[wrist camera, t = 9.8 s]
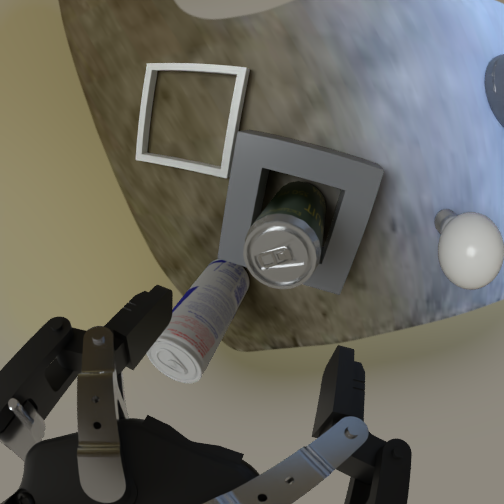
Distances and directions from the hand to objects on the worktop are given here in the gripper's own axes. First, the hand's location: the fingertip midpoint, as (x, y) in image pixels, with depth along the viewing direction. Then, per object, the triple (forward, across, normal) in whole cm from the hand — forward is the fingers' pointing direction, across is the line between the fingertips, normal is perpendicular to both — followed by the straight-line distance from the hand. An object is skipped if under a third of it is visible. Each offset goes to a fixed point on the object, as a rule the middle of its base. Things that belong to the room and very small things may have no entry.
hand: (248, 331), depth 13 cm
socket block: (+19, 0, 0) cm, 19 cm away
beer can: (+19, 0, 0) cm, 19 cm away
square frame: (+19, +14, -7) cm, 25 cm away
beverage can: (+19, +7, +11) cm, 23 cm away
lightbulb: (+20, -15, -3) cm, 25 cm away
